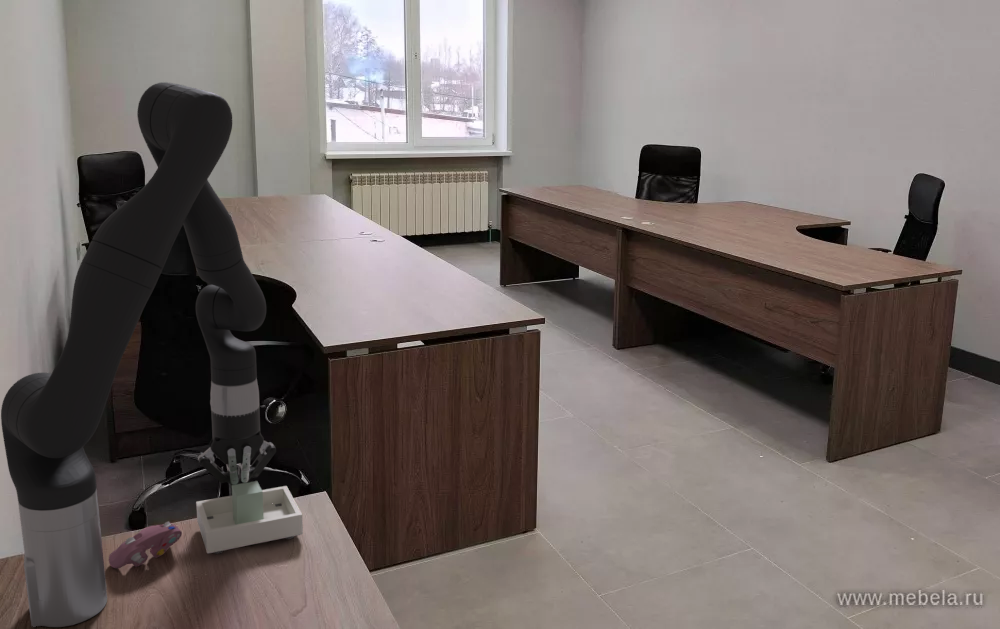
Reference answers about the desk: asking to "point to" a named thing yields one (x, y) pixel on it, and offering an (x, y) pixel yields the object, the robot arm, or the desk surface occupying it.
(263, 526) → the white planter box
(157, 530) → the video game controller
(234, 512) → the sage block
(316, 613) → the desk surface
